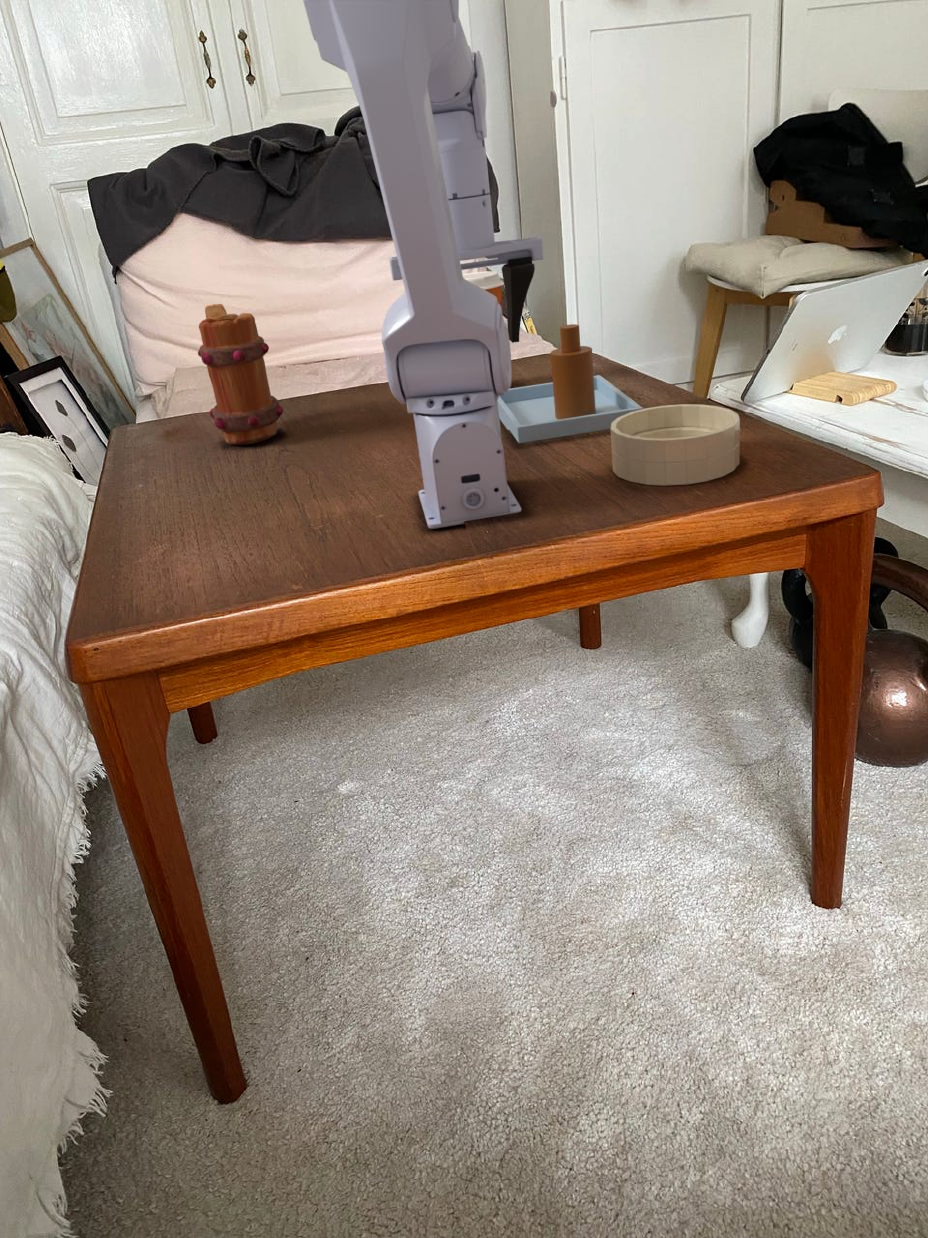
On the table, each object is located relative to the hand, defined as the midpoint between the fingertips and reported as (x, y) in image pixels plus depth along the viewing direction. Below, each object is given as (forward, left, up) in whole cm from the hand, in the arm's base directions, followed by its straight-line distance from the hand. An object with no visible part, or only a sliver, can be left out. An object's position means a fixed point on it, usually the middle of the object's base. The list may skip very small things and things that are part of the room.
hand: (476, 346), depth 94 cm
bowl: (-16, -15, -10) cm, 24 cm away
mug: (+21, +26, -11) cm, 35 cm away
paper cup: (+26, -4, -11) cm, 28 cm away
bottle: (+5, -11, -10) cm, 15 cm away
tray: (+7, -10, -10) cm, 16 cm away
